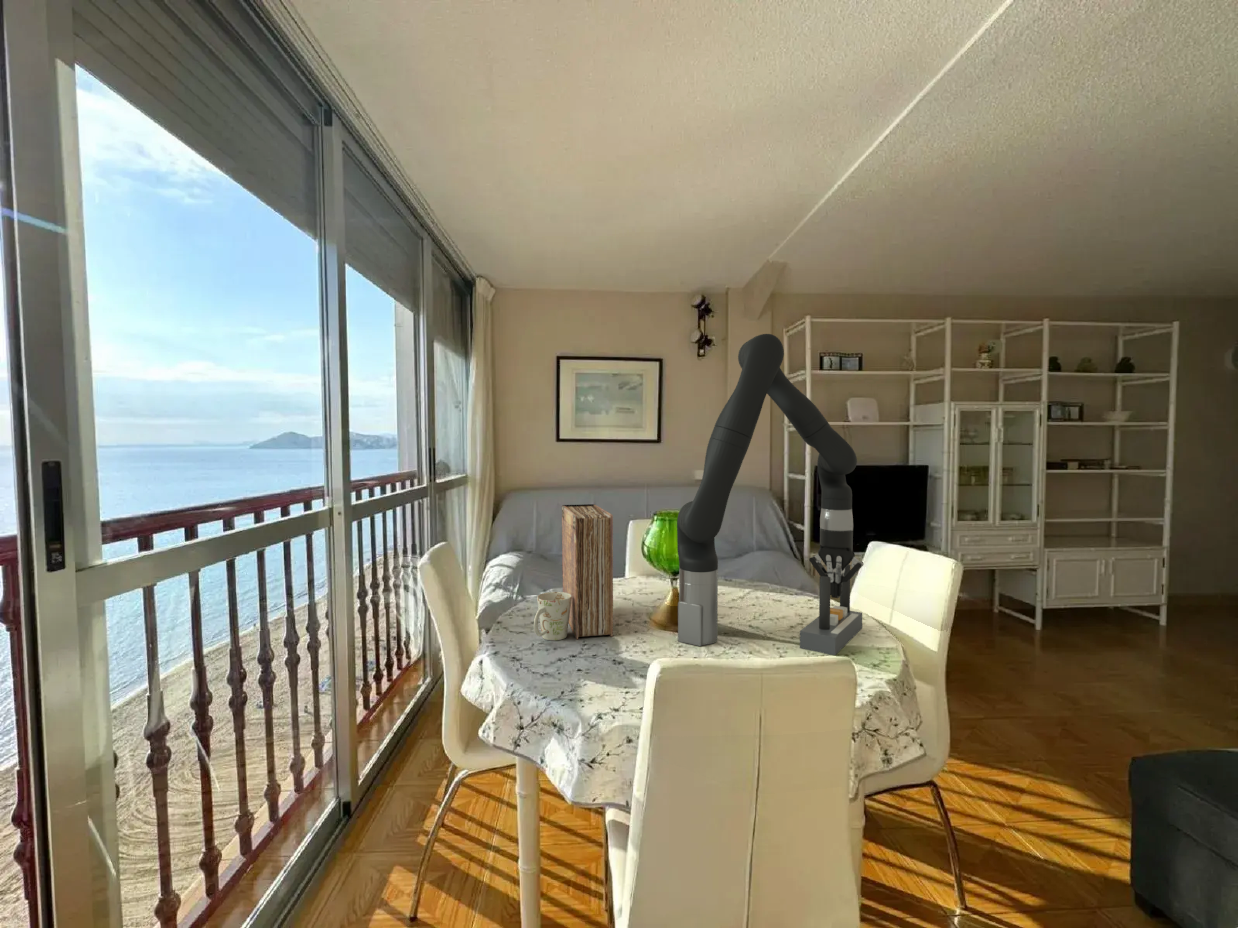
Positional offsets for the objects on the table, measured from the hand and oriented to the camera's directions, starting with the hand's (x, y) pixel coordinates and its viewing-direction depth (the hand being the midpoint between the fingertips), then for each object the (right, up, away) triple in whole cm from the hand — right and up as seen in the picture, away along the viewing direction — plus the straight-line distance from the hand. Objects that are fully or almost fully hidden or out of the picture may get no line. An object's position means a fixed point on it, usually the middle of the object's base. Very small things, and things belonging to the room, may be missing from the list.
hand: (835, 597), depth 146 cm
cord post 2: (+5, -5, +7) cm, 10 cm away
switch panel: (-1, -10, -1) cm, 10 cm away
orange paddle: (0, -5, 0) cm, 5 cm away
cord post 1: (-5, -6, -7) cm, 10 cm away
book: (-62, -9, +11) cm, 63 cm away
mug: (-70, -10, -2) cm, 71 cm away
